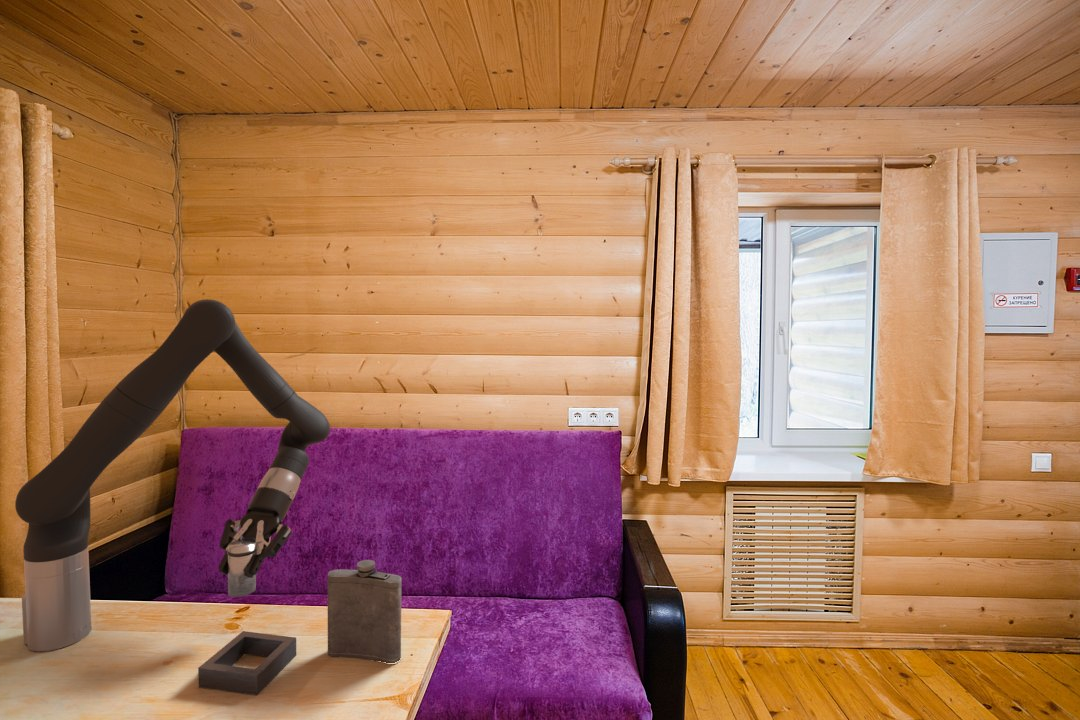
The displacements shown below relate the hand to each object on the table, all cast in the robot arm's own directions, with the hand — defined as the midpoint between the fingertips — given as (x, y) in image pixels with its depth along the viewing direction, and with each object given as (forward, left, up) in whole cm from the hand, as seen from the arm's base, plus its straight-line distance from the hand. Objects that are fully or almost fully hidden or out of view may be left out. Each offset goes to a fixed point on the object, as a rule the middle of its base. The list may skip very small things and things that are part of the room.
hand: (235, 574), depth 103 cm
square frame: (+8, -7, -14) cm, 17 cm away
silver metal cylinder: (0, +2, -4) cm, 5 cm away
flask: (+26, +1, -14) cm, 30 cm away
